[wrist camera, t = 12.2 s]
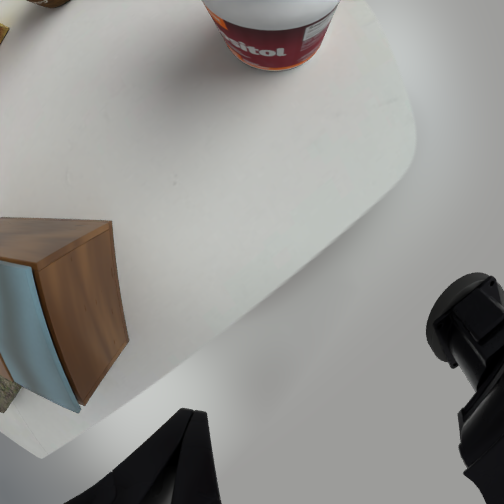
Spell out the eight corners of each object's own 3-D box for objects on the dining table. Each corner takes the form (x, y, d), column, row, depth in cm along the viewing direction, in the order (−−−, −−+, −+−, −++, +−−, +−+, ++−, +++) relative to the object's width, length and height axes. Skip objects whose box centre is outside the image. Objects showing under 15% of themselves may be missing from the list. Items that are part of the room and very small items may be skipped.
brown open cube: (112, 220, 20) (25, 269, 11) (129, 340, 24) (79, 414, 15) (1, 217, 21) (-67, 248, 12) (22, 312, 25) (-29, 356, 16)
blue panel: (31, 266, 12) (25, 270, 11) (81, 409, 16) (78, 414, 15) (-28, 253, 13) (-33, 256, 12) (17, 378, 16) (14, 381, 16)
